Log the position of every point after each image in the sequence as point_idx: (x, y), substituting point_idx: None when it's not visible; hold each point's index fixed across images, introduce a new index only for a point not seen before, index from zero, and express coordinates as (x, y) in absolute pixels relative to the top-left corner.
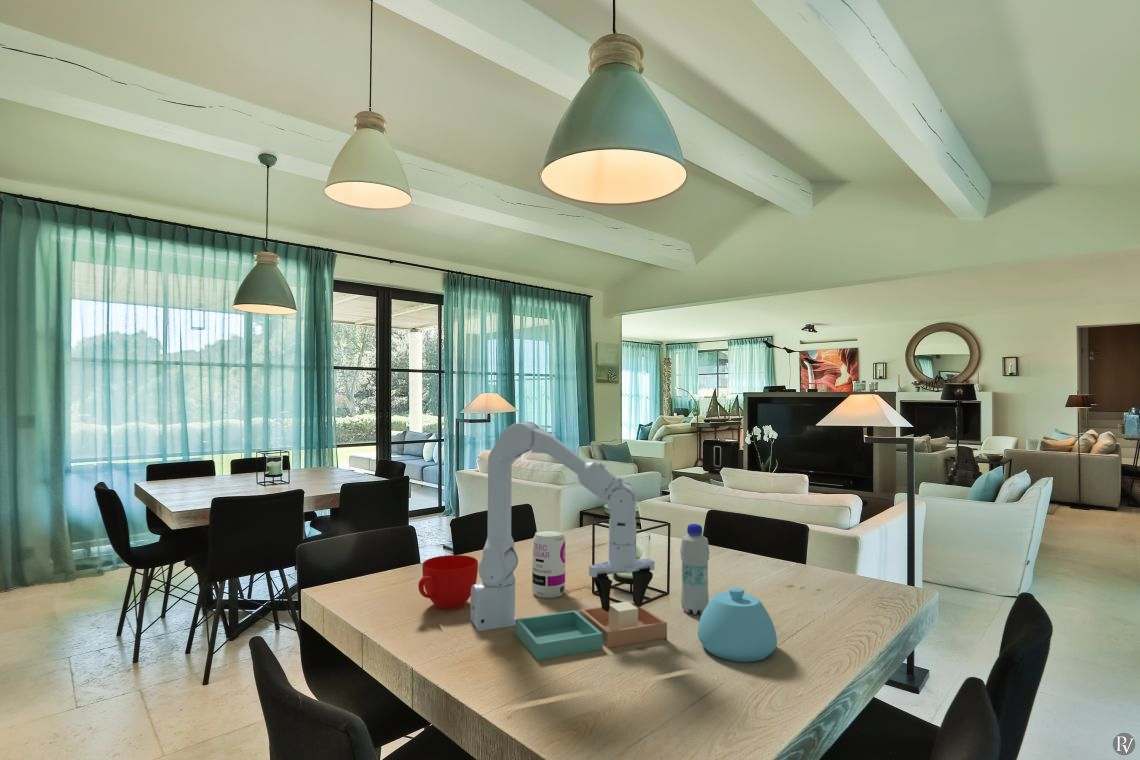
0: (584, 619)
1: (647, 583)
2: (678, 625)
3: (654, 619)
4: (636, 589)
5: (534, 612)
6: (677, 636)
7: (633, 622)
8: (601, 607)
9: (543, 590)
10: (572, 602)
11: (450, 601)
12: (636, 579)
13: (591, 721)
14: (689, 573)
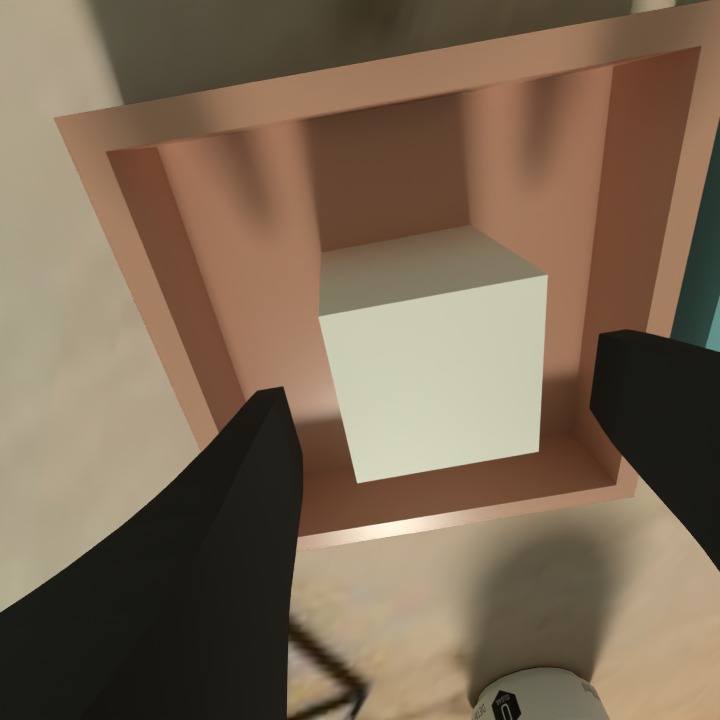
0: (716, 347)
1: (79, 579)
2: (11, 353)
3: (170, 285)
4: (275, 554)
5: (675, 575)
6: (34, 177)
7: (362, 266)
8: (493, 508)
9: (588, 702)
10: (482, 635)
11: None
12: (255, 703)
13: None
14: None
